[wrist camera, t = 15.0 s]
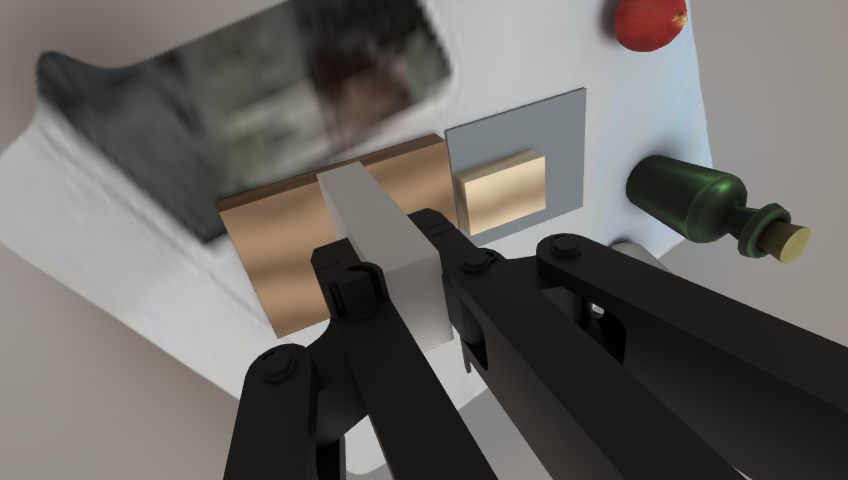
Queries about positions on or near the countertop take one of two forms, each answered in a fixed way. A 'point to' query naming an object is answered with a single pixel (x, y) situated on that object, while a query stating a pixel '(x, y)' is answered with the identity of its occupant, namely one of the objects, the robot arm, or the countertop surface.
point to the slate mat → (522, 130)
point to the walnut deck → (323, 225)
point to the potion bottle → (713, 208)
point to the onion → (648, 23)
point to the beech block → (500, 191)
